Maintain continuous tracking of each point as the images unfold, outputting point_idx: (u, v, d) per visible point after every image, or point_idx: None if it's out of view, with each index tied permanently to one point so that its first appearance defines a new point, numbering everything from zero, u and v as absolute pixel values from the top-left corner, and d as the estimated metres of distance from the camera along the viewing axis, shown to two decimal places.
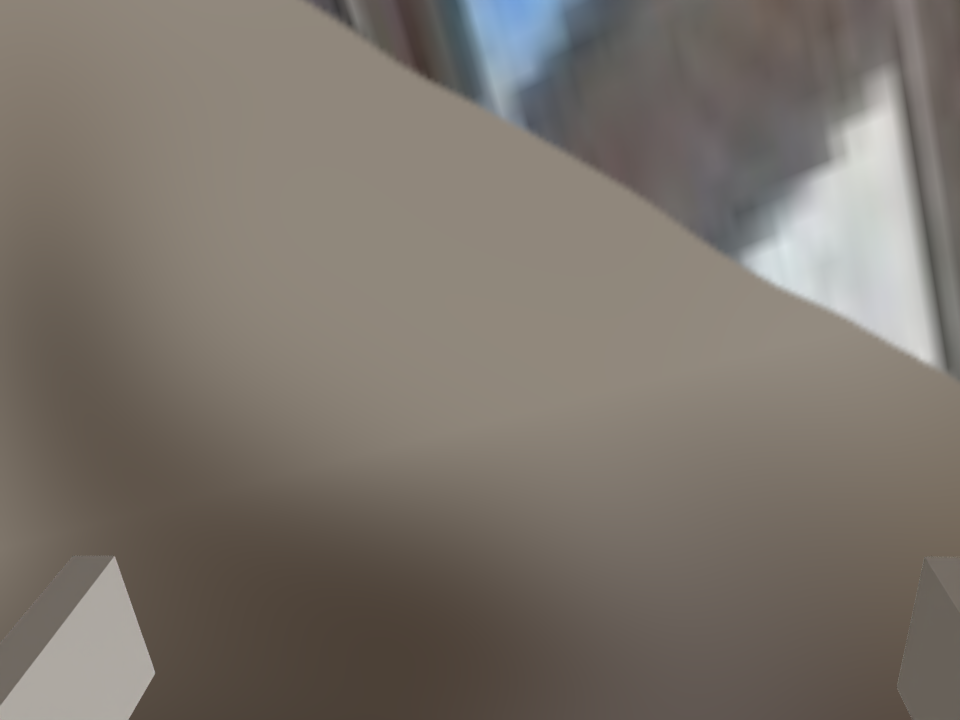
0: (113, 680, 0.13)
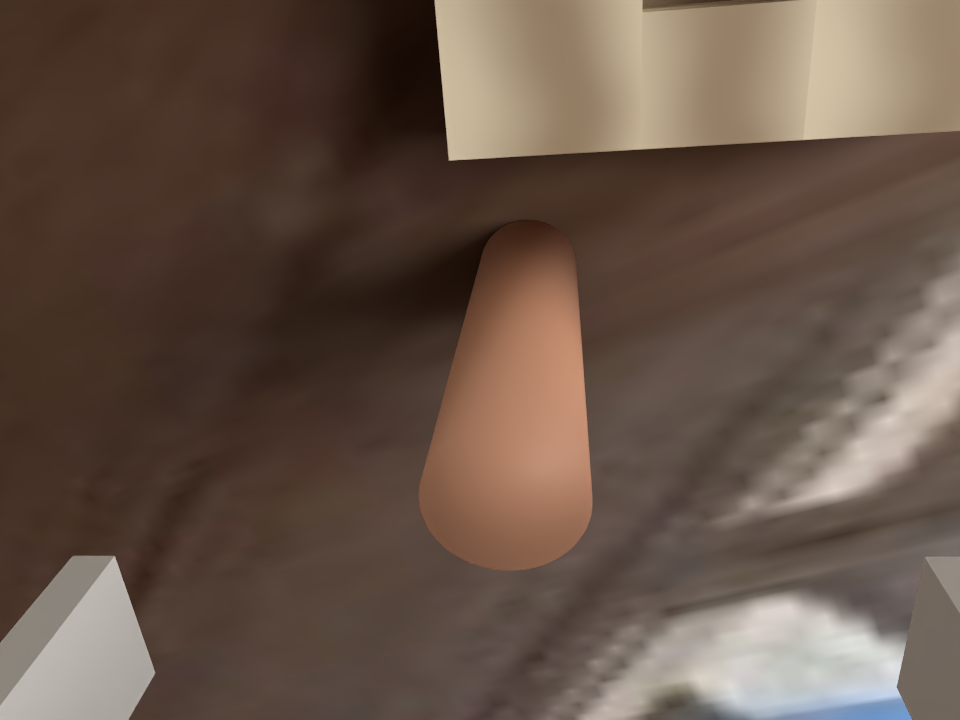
0: (113, 680, 0.13)
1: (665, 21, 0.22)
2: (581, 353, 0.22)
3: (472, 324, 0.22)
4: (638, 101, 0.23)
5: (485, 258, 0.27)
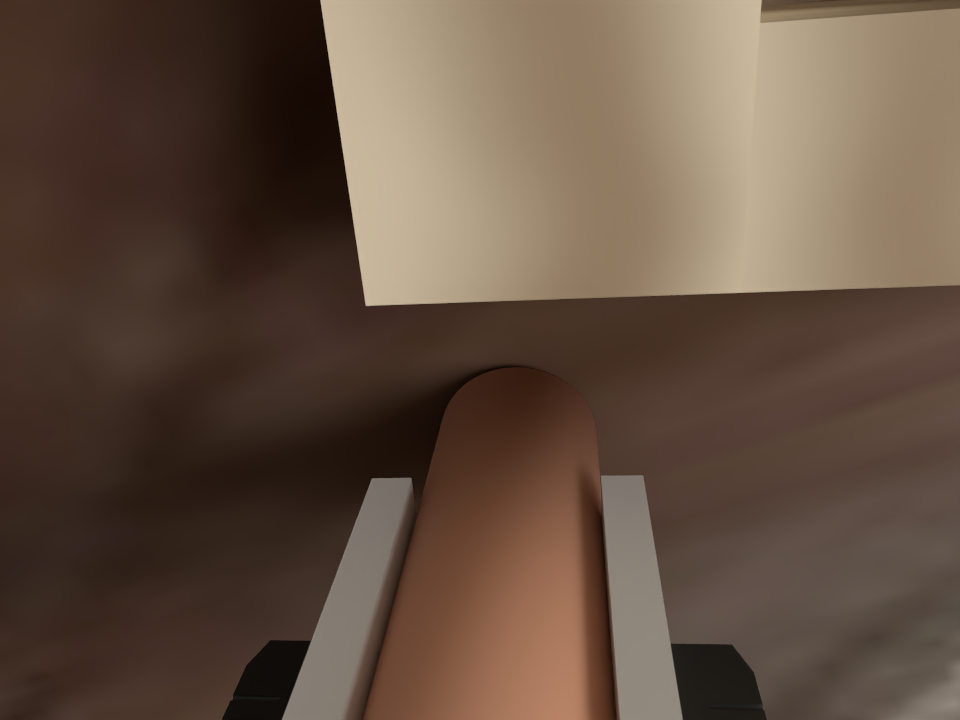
0: None
1: (807, 42, 0.10)
2: None
3: (387, 705, 0.10)
4: (741, 203, 0.11)
5: (441, 453, 0.16)
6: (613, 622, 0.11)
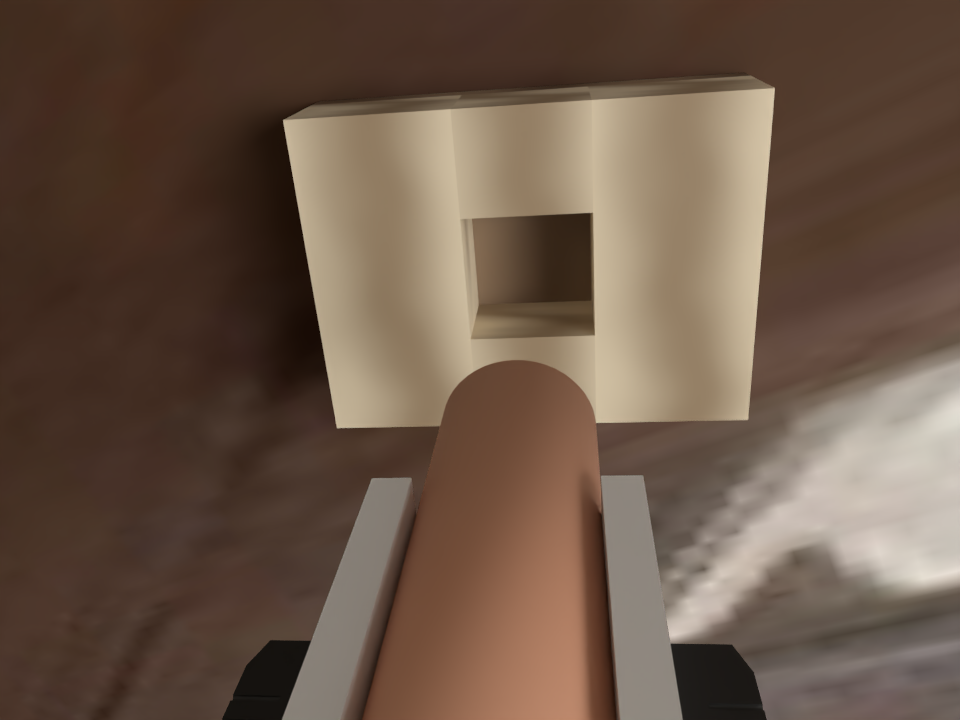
0: None
1: (487, 345, 0.30)
2: None
3: (391, 683, 0.10)
4: None
5: (443, 443, 0.16)
6: (613, 622, 0.11)
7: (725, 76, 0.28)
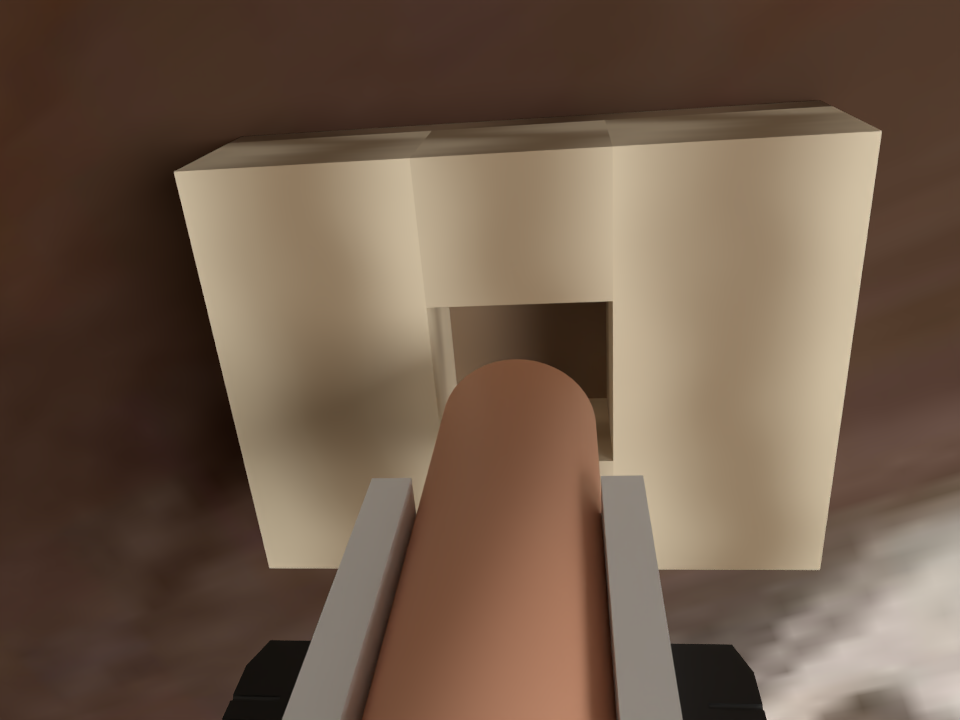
0: None
1: None
2: None
3: (391, 682, 0.10)
4: None
5: (443, 442, 0.16)
6: (613, 622, 0.11)
7: (796, 106, 0.20)
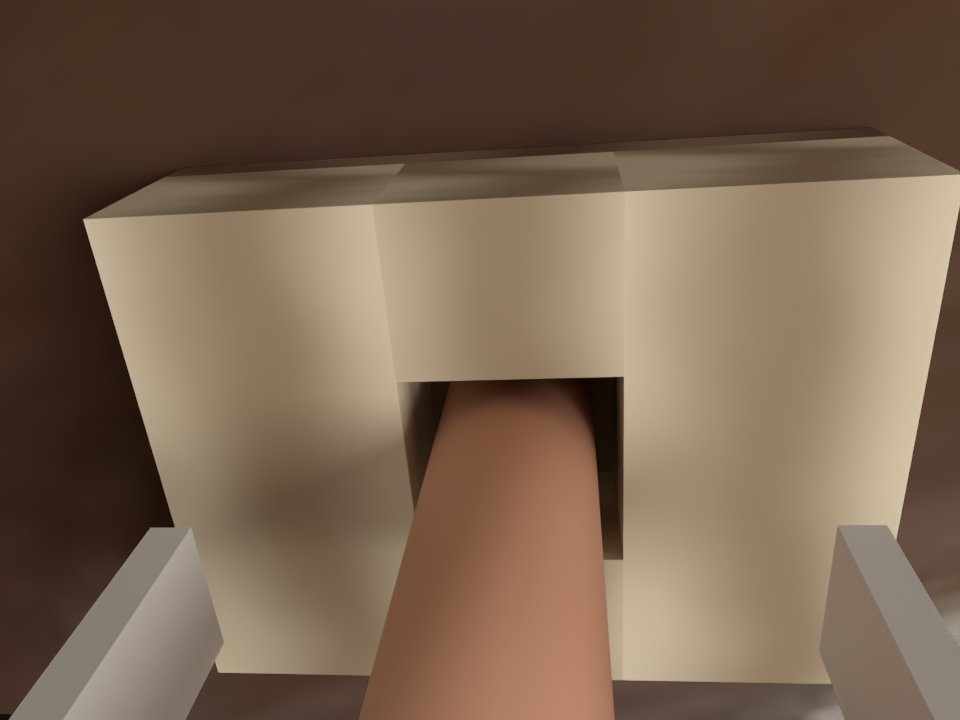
0: (190, 646, 0.14)
1: None
2: (607, 642, 0.12)
3: (409, 596, 0.12)
4: None
5: (451, 403, 0.17)
6: (934, 716, 0.09)
7: (845, 136, 0.17)
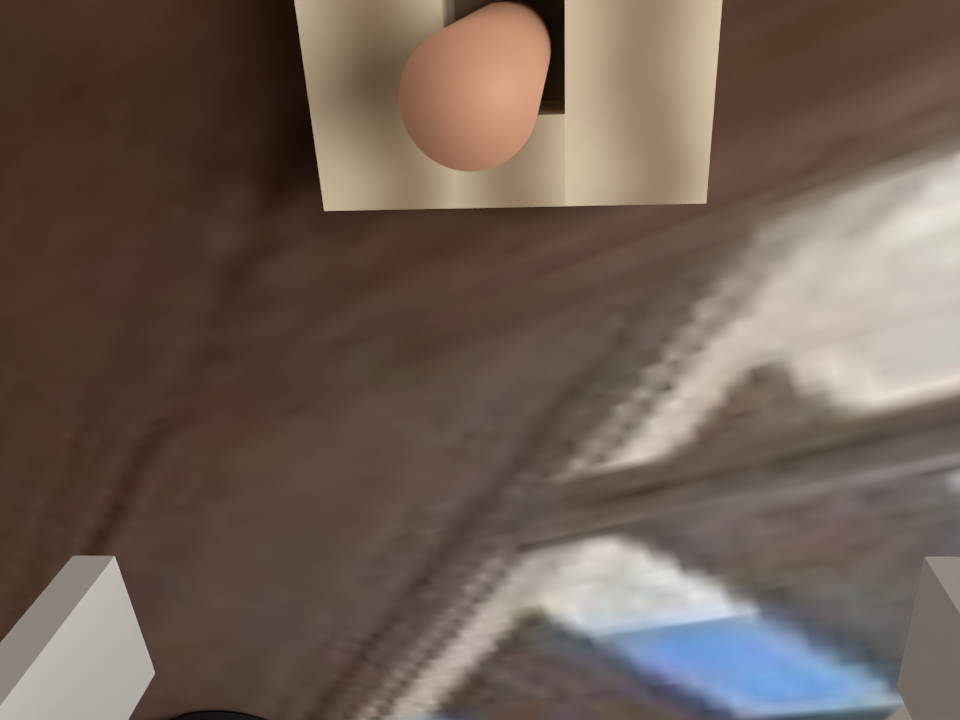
0: (113, 680, 0.13)
1: None
2: (545, 56, 0.26)
3: None
4: (451, 176, 0.33)
5: None
6: None
7: None
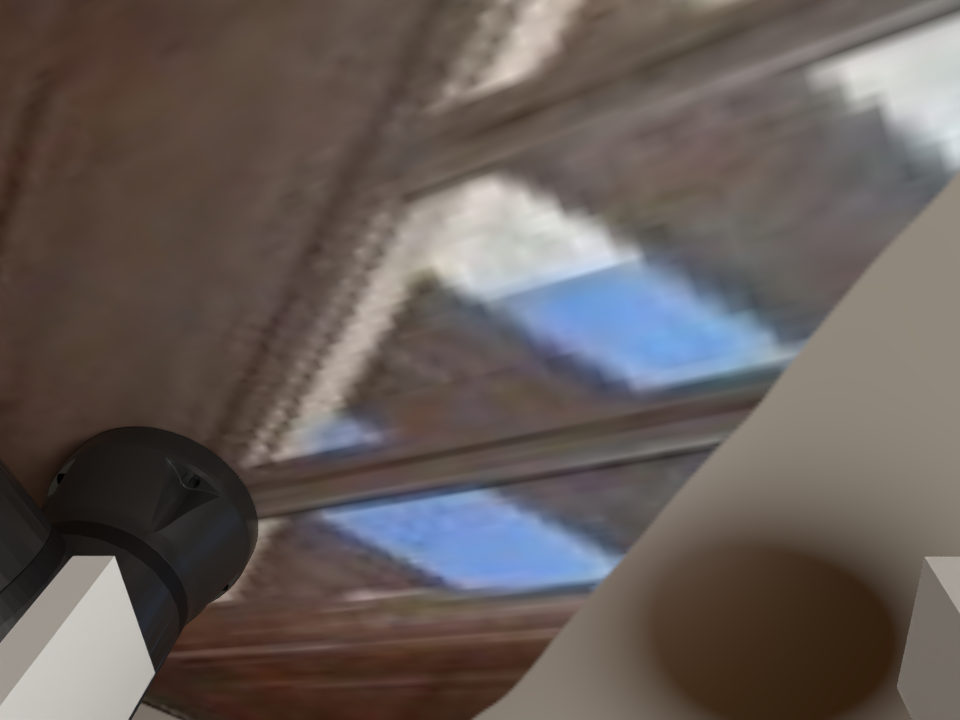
0: (113, 680, 0.13)
1: None
2: None
3: None
4: None
5: None
6: None
7: None
